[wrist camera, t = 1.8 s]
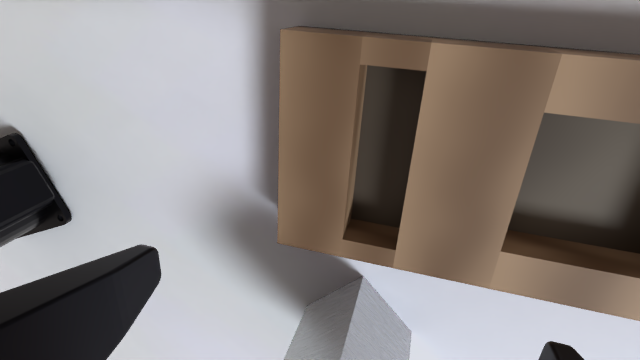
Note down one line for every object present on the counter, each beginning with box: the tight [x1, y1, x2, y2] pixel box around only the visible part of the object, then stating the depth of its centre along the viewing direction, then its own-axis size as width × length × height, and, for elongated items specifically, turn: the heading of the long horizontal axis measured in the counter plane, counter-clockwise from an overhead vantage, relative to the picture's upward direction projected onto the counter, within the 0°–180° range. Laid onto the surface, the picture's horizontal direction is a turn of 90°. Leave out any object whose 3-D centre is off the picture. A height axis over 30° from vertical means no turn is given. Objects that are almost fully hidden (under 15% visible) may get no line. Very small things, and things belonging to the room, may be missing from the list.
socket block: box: [277, 26, 640, 321], centre depth 16 cm, size 18×10×2 cm, turn 87°
